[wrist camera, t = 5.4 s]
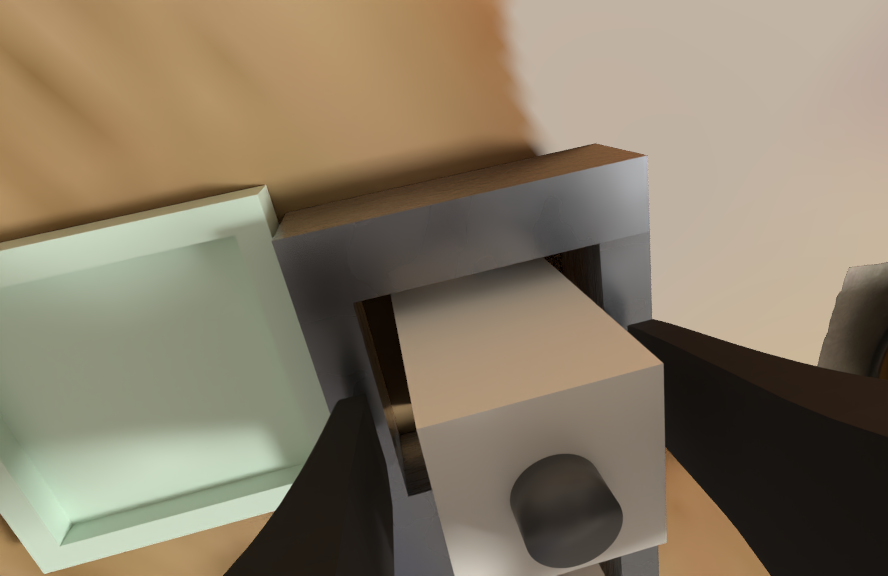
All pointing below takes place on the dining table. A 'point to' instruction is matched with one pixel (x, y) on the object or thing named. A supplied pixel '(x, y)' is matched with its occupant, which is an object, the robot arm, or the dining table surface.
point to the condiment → (859, 324)
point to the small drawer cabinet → (451, 256)
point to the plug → (533, 422)
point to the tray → (150, 379)
